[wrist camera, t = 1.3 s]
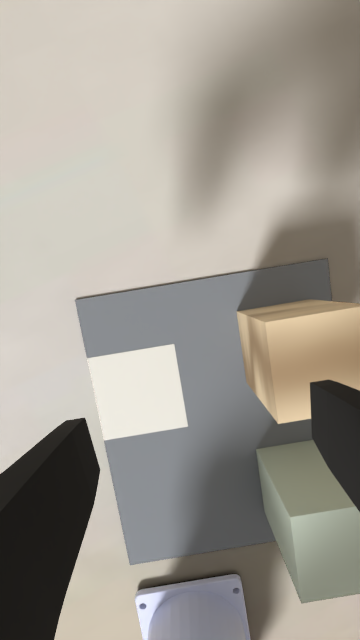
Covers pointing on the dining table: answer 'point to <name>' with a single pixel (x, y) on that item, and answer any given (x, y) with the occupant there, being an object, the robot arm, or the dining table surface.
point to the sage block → (311, 521)
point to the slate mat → (188, 407)
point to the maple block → (299, 352)
